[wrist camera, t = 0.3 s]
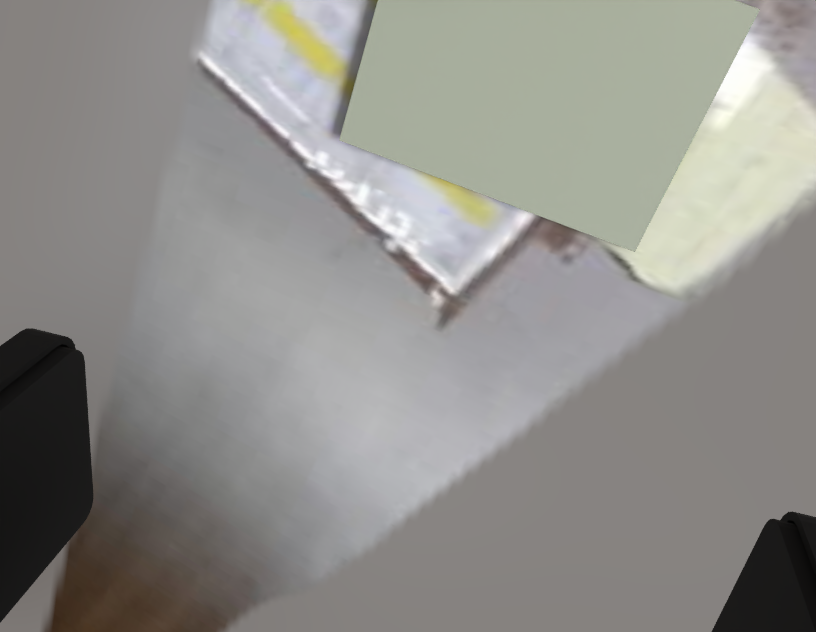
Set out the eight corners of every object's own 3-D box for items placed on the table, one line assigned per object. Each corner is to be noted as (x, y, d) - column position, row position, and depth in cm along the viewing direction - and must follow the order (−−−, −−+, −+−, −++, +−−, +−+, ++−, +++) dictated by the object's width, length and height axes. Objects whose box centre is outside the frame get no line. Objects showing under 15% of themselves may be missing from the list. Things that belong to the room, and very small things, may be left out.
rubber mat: (413, -118, 33) (410, -119, 33) (757, 8, 33) (759, 9, 32) (341, 138, 39) (339, 140, 39) (634, 248, 39) (634, 251, 38)
